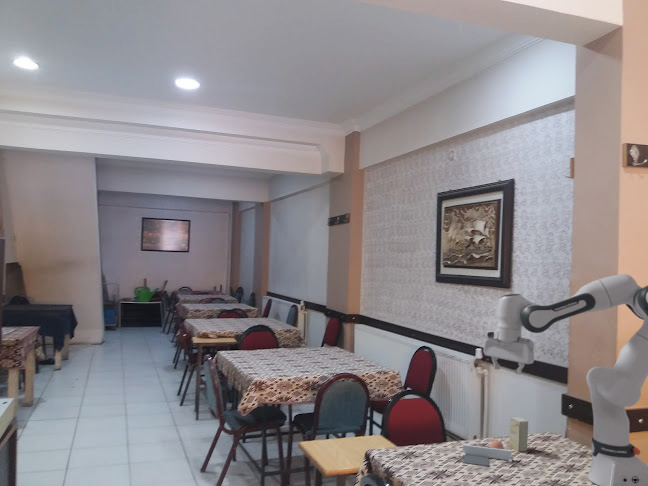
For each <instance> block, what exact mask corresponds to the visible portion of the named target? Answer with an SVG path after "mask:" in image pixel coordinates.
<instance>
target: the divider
mask: <svg viewBox="0 0 648 486" xmlns="http://www.w3.org/2000/svg"><path fill="white" fill-rule="evenodd" d="M465 454H467V455H475V456H482V457H488V459H489V458H490V459H495V460H496V459H497V460H504V461H508V462H509V463H512V462H513V460H512V450H511V449H504V448H503V449H496V448H490V447H486V446H478V445H471V444H470V445H469V444H462V457H464V456H465Z"/></svg>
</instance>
